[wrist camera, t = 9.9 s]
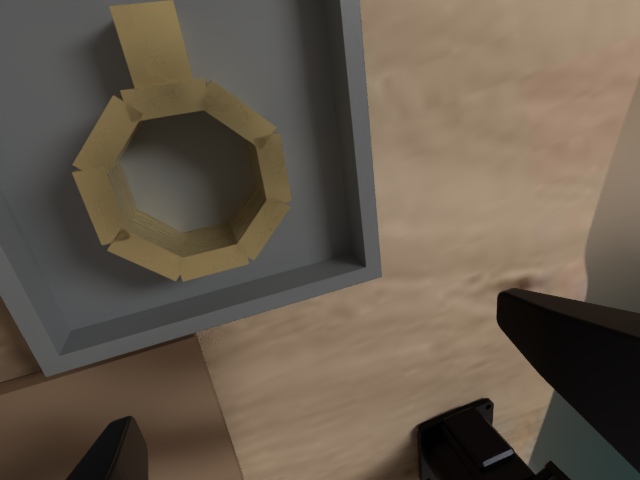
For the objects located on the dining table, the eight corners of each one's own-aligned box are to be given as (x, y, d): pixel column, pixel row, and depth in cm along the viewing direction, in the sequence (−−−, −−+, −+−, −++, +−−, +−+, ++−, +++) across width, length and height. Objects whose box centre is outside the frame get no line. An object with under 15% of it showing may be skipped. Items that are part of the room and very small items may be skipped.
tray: (362, 257, 22) (381, 276, 20) (62, 342, 18) (45, 377, 16) (327, -82, 16) (350, -110, 13) (-142, -57, 12) (-217, -90, 10)
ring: (284, 227, 19) (300, 250, 16) (132, 265, 17) (123, 297, 15) (241, 3, 15) (254, -15, 13) (40, 24, 13) (4, 8, 11)
